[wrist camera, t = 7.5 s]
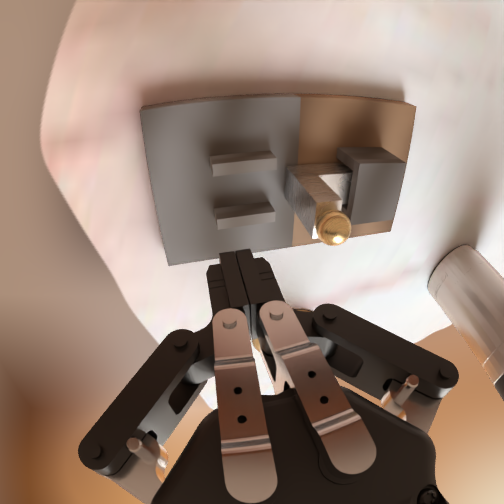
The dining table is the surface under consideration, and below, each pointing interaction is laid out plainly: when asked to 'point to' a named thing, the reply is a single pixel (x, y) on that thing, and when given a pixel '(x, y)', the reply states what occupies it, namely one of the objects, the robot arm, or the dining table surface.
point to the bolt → (320, 199)
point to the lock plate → (268, 166)
